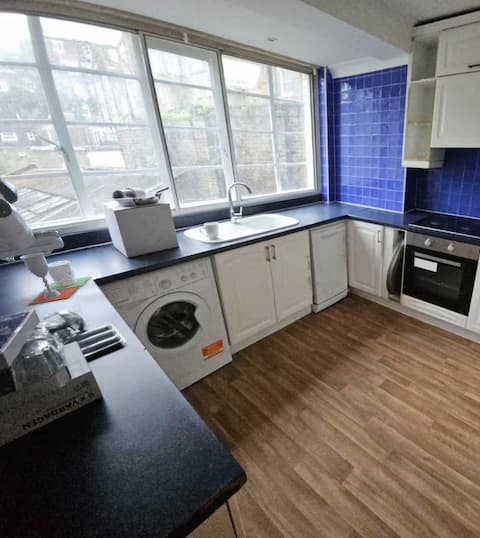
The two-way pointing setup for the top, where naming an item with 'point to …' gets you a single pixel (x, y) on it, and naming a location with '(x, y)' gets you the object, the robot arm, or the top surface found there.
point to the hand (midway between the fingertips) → (30, 256)
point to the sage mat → (78, 284)
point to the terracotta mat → (64, 295)
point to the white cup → (62, 273)
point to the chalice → (39, 270)
